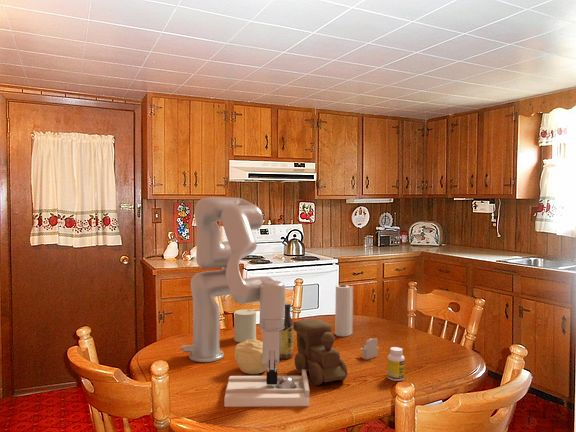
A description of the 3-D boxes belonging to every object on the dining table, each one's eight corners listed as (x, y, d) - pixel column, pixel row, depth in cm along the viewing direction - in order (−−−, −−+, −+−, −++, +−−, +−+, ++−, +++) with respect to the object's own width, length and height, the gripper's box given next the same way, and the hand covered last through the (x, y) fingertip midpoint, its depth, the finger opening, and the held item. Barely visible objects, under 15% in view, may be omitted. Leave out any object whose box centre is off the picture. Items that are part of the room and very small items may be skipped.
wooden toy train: (290, 368, 159) (290, 321, 158) (318, 363, 164) (319, 317, 163) (319, 390, 141) (320, 337, 140) (350, 384, 146) (351, 332, 145)
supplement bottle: (401, 382, 147) (401, 352, 147) (384, 379, 150) (385, 349, 150) (406, 377, 152) (406, 348, 152) (390, 373, 155) (391, 345, 154)
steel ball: (295, 389, 135) (279, 382, 135) (288, 400, 138) (273, 392, 138) (298, 377, 140) (283, 370, 140) (292, 387, 142) (278, 380, 142)
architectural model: (359, 358, 171) (359, 338, 171) (373, 354, 175) (373, 335, 175) (366, 360, 168) (366, 340, 168) (379, 357, 172) (379, 337, 172)
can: (260, 338, 193) (260, 310, 192) (247, 344, 185) (247, 314, 185) (243, 334, 198) (243, 307, 197) (229, 340, 190) (229, 311, 190)
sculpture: (230, 374, 153) (230, 342, 153) (246, 362, 164) (246, 332, 164) (261, 379, 149) (261, 346, 149) (275, 367, 160) (276, 336, 160)
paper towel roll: (333, 336, 197) (334, 286, 196) (336, 332, 203) (337, 284, 202) (350, 337, 195) (351, 287, 194) (352, 333, 201) (353, 285, 200)
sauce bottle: (291, 360, 167) (291, 306, 166) (274, 358, 168) (274, 305, 168) (294, 354, 174) (295, 302, 173) (278, 353, 175) (278, 301, 174)
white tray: (224, 406, 129) (224, 390, 129) (229, 383, 145) (229, 369, 145) (309, 406, 130) (309, 390, 130) (305, 383, 146) (305, 369, 146)
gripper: (260, 316, 144) (259, 373, 145) (258, 329, 129) (258, 394, 130) (284, 316, 145) (283, 373, 145) (285, 329, 130) (285, 393, 130)
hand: (271, 383), depth 138 cm, fingers closed
